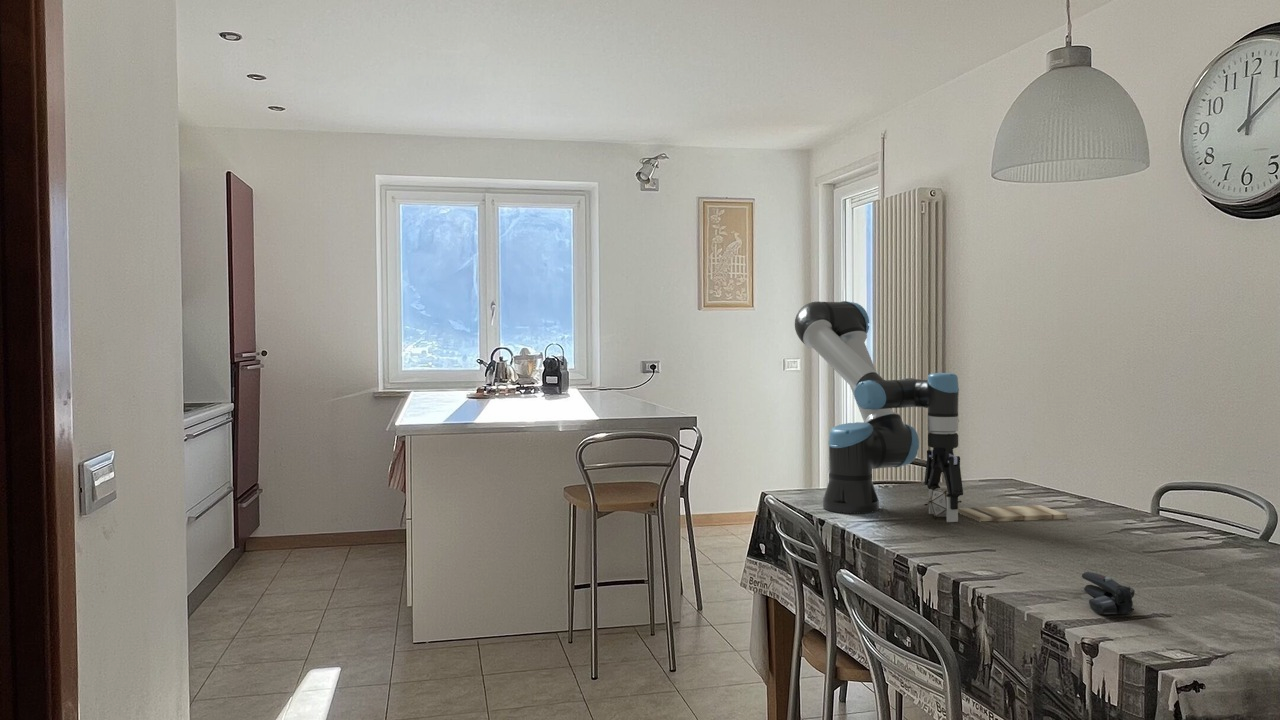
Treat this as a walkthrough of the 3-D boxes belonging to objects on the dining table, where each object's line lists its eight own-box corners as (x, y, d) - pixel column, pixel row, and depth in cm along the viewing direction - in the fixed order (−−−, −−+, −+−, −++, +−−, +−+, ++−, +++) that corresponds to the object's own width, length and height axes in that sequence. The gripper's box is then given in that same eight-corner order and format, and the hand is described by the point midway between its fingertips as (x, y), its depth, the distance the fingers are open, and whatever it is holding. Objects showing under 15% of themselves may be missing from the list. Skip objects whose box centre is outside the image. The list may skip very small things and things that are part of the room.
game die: (934, 532, 228) (911, 499, 231) (957, 517, 231) (934, 485, 234) (951, 521, 220) (927, 488, 223) (975, 507, 223) (950, 474, 226)
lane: (979, 522, 222) (979, 517, 222) (957, 512, 234) (957, 508, 234) (1067, 518, 225) (1067, 514, 225) (1040, 509, 237) (1040, 505, 237)
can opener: (1143, 622, 146) (1144, 589, 146) (1098, 619, 148) (1099, 587, 147) (1107, 591, 164) (1108, 561, 163) (1068, 589, 165) (1068, 560, 165)
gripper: (978, 436, 216) (978, 526, 217) (937, 427, 238) (937, 508, 239) (949, 437, 215) (949, 527, 216) (911, 428, 237) (911, 509, 238)
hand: (943, 517), depth 227 cm, fingers open, 9 cm apart
